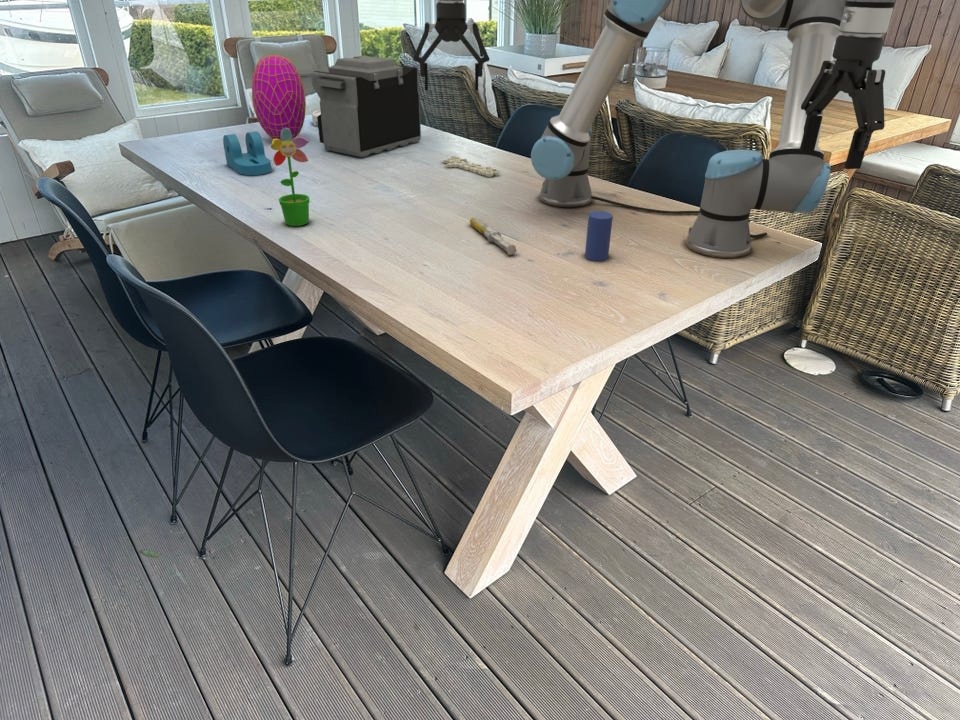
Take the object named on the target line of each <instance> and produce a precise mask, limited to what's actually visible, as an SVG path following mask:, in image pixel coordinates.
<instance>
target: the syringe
mask: <svg viewBox="0 0 960 720" xmlns="http://www.w3.org/2000/svg"><path fill="white" fill-rule="evenodd" d="M469 224H470V226H471V227H472V228H474V230H476V231H477V232H479V233H480V234H481V235H482V236H484V237H485V238H486V239H487V241H488V243H494V244H496V245H497V246H498V247H500V248H501V249H502V250H503V251H504V252H506V253H507V255H508V256H512V255H515V253H517V251H518V250H517V247H516V245H515V244H511V243H510V242H509V241H507V240H506V239H504V238H503V237H502V234H501V233H500V232H499V231H495V230H494V229H493V228H491V227H490V226H489V225H487V224H486V223H485V222H483V221H482V220H481V219H480V218H479V217H477V216H472V217H470V220H469Z"/></svg>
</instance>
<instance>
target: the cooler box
mask: <svg viewBox="0 0 960 720" xmlns="http://www.w3.org/2000/svg"><path fill="white" fill-rule="evenodd" d="M310 79H311V87H313V90H314V91H315V93H316V94H317V96H318V98H319V110H320V111H321V115H319V116H318V117H317V120H318V126H317V128H318V138H319V143H320V144H323V146H324V149H325V150H327V151H330V152H335V153H340V154H344V155H348V156H353V157H357V158H362V159H363V158H366V157H367V158H368V157H369V155H371V154H375V155H377V154H381V153H382V152H383V151H391V150H395V149H396V148H397V147H405V146H407V145H408V144H416V143H418V142H419V141H421V137H422V128H421V97H420V92H419V91H420V89H419V68H418V67H417V66H408V65H400V64H396V62H395V60H394V59H393V58H385V57H377V56H367V55H356V56H353V57H350V58H349V57H343V58H342V57H341V58H337V59H336V60H335V63H334V64H333V65H330V66H329V67H328V72H327V71H320V70H314V71H313V70H312V71H310Z"/></svg>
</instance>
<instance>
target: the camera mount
mask: <svg viewBox="0 0 960 720" xmlns="http://www.w3.org/2000/svg"><path fill="white" fill-rule="evenodd" d="M222 140H223V141H222V143H223V149H224V150H223V151H224V156H225V161H226V165H227V166H228V167H230V168H231V169H232V170H234V171H236V172H237V173H238V174H239V175H244V176H260V175H265V174H268V173H271V172H272V164H271V159H270V158H268V157H267V156H266V153H265V145H264V141H263V139H262V136H261V134H260V132H258V131H247V132H246V133H245V146H246V152H243V151H242V150H243V149H242V146H241V142H240V140H239V138H238V135H236V134H235V133H231V134H224V135H223V138H222Z"/></svg>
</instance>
